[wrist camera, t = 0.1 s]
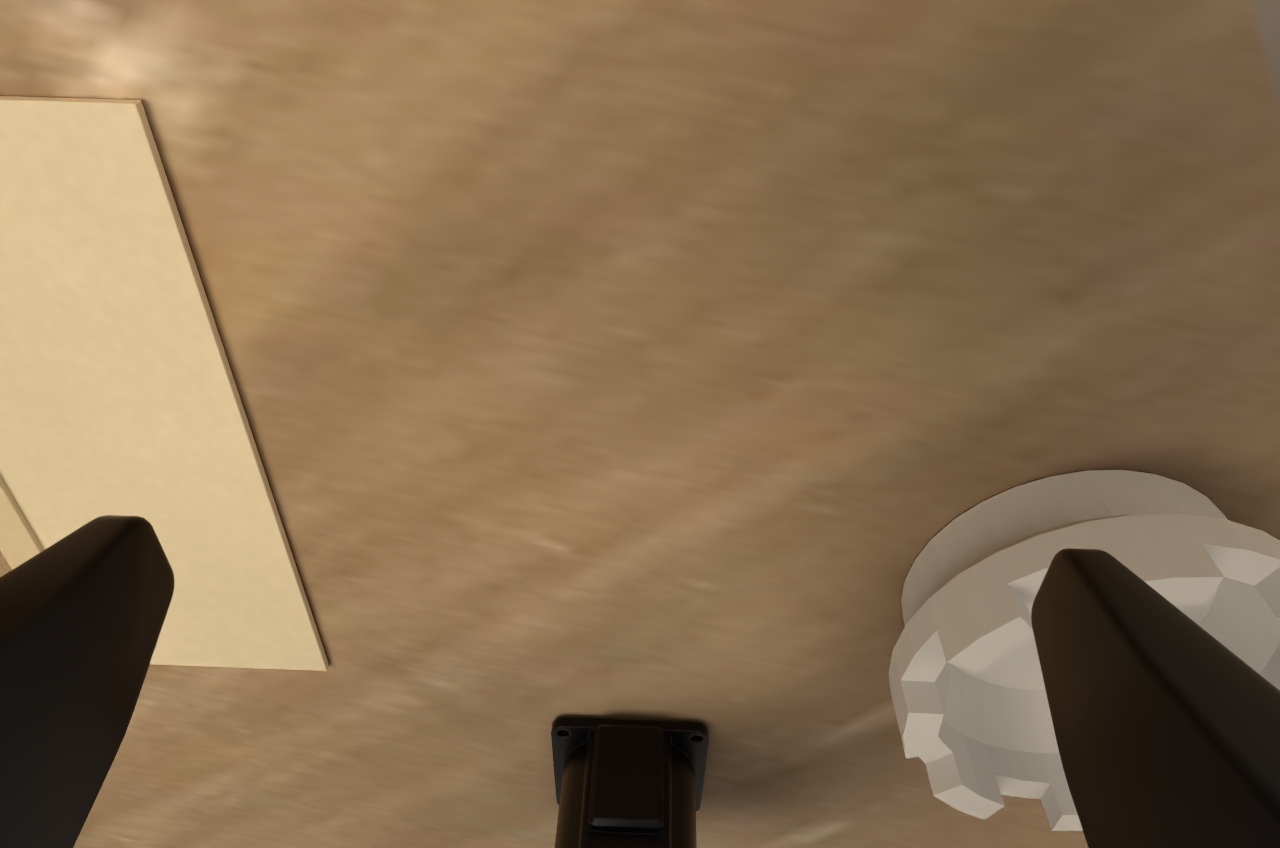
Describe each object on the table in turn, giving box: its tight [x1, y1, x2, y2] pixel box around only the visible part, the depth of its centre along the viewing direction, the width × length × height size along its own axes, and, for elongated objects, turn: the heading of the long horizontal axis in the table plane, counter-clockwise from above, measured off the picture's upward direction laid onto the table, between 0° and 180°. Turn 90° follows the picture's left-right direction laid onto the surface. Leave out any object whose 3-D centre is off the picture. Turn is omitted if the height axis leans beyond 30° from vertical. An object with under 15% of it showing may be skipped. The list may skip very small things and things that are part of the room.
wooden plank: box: [0, 96, 329, 671], centre depth 27 cm, size 22×10×1 cm, turn 179°
